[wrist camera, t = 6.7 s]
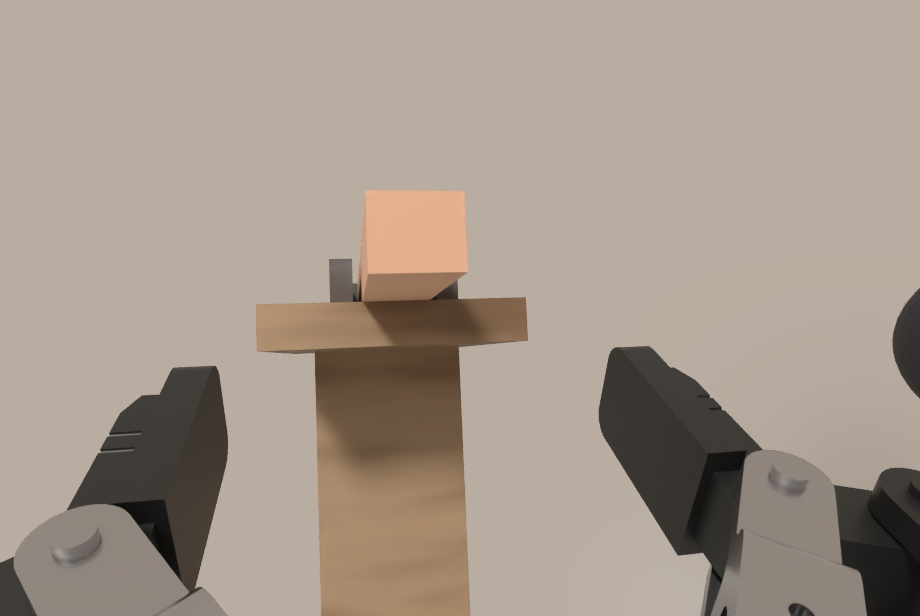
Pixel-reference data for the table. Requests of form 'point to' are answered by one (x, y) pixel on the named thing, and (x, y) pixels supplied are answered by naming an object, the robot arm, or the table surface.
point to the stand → (390, 439)
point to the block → (411, 244)
